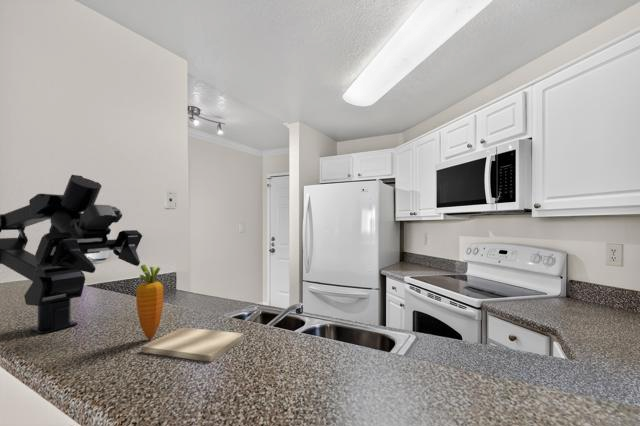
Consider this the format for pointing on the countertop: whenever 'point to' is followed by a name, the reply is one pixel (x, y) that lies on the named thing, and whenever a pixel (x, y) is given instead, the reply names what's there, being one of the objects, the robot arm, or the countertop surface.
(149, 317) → the carrot
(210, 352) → the cutting board
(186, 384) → the countertop surface
